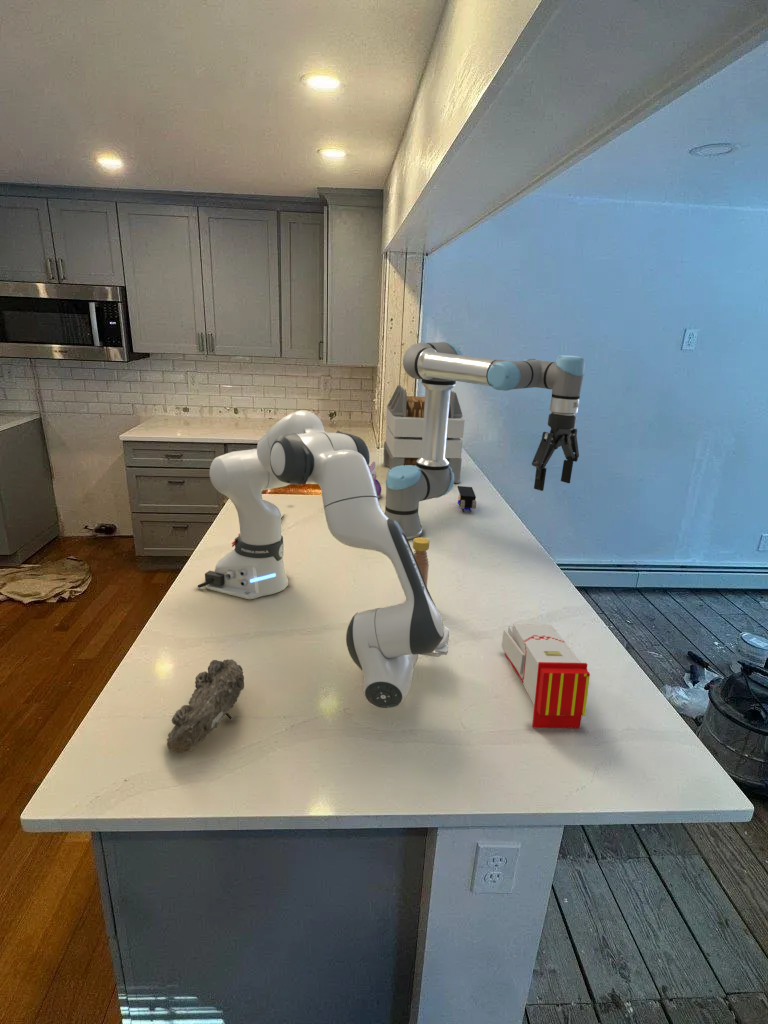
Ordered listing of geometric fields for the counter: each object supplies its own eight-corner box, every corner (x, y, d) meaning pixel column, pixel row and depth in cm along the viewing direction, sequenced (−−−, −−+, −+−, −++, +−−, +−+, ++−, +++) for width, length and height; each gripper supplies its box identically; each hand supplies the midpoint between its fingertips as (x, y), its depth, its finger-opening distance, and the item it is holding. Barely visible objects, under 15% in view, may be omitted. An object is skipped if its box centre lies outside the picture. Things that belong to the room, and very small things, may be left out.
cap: (409, 547, 147) (409, 539, 147) (421, 543, 150) (421, 536, 149) (420, 552, 144) (420, 544, 144) (432, 549, 147) (432, 541, 146)
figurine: (366, 502, 230) (367, 466, 225) (355, 494, 239) (356, 460, 234) (386, 499, 235) (388, 464, 229) (375, 492, 243) (377, 458, 238)
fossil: (192, 660, 117) (244, 628, 112) (224, 691, 120) (276, 661, 115) (142, 746, 98) (202, 712, 93) (182, 779, 101) (242, 748, 96)
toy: (548, 608, 134) (599, 669, 104) (543, 661, 136) (591, 735, 107) (497, 607, 133) (533, 668, 104) (493, 660, 136) (527, 734, 107)
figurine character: (476, 517, 222) (470, 501, 236) (478, 500, 219) (472, 484, 232) (459, 517, 222) (454, 501, 236) (461, 499, 219) (456, 484, 232)
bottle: (404, 603, 153) (408, 540, 147) (417, 598, 156) (421, 536, 150) (416, 610, 149) (420, 546, 143) (429, 605, 152) (434, 542, 146)
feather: (291, 508, 223) (294, 504, 222) (274, 533, 196) (277, 528, 195) (287, 506, 222) (290, 502, 222) (270, 530, 196) (272, 526, 195)
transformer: (382, 463, 289) (386, 382, 275) (445, 464, 293) (451, 384, 279) (390, 482, 257) (394, 392, 243) (460, 483, 261) (468, 394, 247)
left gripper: (448, 643, 116) (453, 611, 129) (351, 630, 120) (365, 599, 132) (446, 669, 118) (451, 635, 131) (350, 655, 122) (365, 623, 134)
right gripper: (548, 419, 148) (537, 496, 155) (598, 411, 163) (586, 482, 171) (525, 414, 153) (515, 489, 160) (575, 407, 169) (564, 476, 176)
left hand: (407, 617), depth 132 cm, fingers open, 8 cm apart
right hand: (552, 485), depth 166 cm, fingers open, 13 cm apart
